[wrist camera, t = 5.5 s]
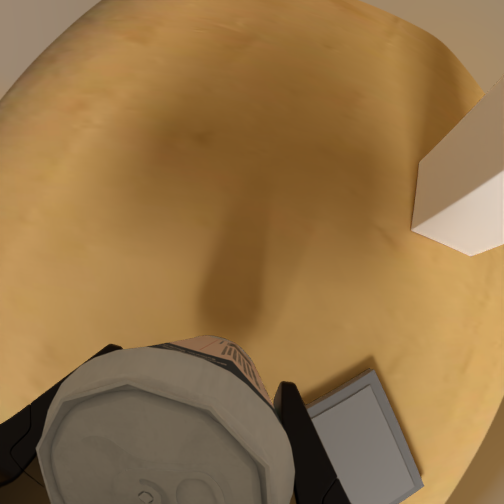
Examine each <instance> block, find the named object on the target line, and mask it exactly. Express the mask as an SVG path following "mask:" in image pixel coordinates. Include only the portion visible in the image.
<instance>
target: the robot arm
mask: <svg viewBox="0 0 504 504" xmlns="http://www.w3.org/2000/svg"><path fill="white" fill-rule="evenodd" d="M116 350H123V348H122V347H121V346H118V345H114V344H109V345H107V346H106V347H104V348H103V349H102V350H100V351H99V352H98V353H96V354H95V355H94V356H92V357H91V358H90V359H88V360H87V361H86V362H88V361H90V360H91V359H93V358H95V357H98V356H101V355H104V354H107V353H110V352H113V351H116ZM86 362H84V363H86ZM84 363H83V364H84ZM83 364H82V365H83ZM80 366H81V365H80ZM80 366H79V367H80ZM79 367H78V368H79ZM78 368H76V369H75V370H77V369H78ZM75 370H74V371H75ZM74 371H72V372H71V373H70V374H68V375H67V376H66V377H64V378H63V379H62V380H61V381H59V382H58V383H57V384H55V385H54V386H53V387H51V388H50V389H49V390H47V391H46V392H45V393H43V394H42V395H41V396H39V397H38V398H37V399H35V400H34V401H33V402H32V403H31V405H30V404H29V405H27V406H26V407H25V408H24V409H22V410H21V411H20V412H18V413H17V414H15V415H14V416H13V417H11V418H10V419H8V420H6V421H5V422H3V423H2V424H0V504H51V502H50V499H49V496H48V493H47V490H46V486H45V483H44V479H43V475H42V472H41V468H40V464H39V460H38V456H37V451H36V447H37V445H38V443H39V441H40V439H41V437H42V433H43V429H44V425H45V421H46V417H47V413H48V410H49V407H50V405H51V403H52V401H53V399H54V397H55V395H56V393H57V391H58V389H59V387H60V386H61V384H62V383H63V382H64V381H65V380H66V379H67V378H68V377H69V376H70V375H71V374H72V373H73V372H74ZM273 406H274V409H275V411H276V413H277V415H278V417H279V419H280V421H281V423H282V425H283V428H284V430H285V432H286V434H287V437H288V440H289V442H290V445H291V449H292V455H293V461H294V468H295V476H294V487H293V494H292V497H291V500H290V503H289V504H352V503H351V502H350V500H349V498H348V496H347V494H346V492H345V490H344V488H343V486H342V484H341V482H340V480H339V478H337V477H338V476H337V474H336V471H335V469H334V467H333V465H332V463H331V461H330V459H329V456H328V454H327V452H326V450H325V448H324V446H323V443H322V441H321V439H320V437H319V435H318V433H317V430H316V428H315V426H314V424H313V422H312V420H311V417H310V415H309V413H308V411H307V409H306V406H305V404H304V402H303V400H302V398H301V395H300V393H299V391H298V389H297V387H296V385H295V384H294V383H293V382H286V381H282V382H281V383H280V385H279V387H278V390H277V392H276V395H275V398H274V404H273Z"/></svg>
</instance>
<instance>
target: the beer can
mask: <svg viewBox="0 0 504 504" xmlns="http://www.w3.org/2000/svg"><path fill="white" fill-rule="evenodd" d="M36 451H37V456H38V460H39V464H40V468H41V472H42V475H43V479H44V483H45V486H46V490H47V493H48V496H49V499H50V502H51V504H289V503H290V500H291V497H292V494H293V487H294V476H295V468H294V461H293V455H292V449H291V445H290V442H289V440H288V437H287V434H286V432H285V430H284V428H283V425H282V423H281V421H280V419H279V417H278V415H277V413H276V411H275V409H274V406H273V404H272V402H271V400H270V398H269V396H268V393H267V391H266V389H265V387H264V385H263V383H262V380H261V378H260V376H259V374H258V372H257V369H256V367H255V365H254V363H253V362H252V360H251V358H250V357H249V356H248V355H247V354H246V352H245V351H244V350H243V349H242V348H241V347H239V346H238V345H237V344H235V343H234V342H231V341H229V340H227V339H225V338H221V337H217V336H207V335H205V336H198V337H194V338H190V339H185V340H180V341H175V342H169V343H164V344H159V345H153V346H147V347H140V348H131V349H123V350H116V351H113V352H110V353H107V354H104V355H101V356H98V357H95V358H93V359H91V360H90V361H88V362H86V363H84V364H83V365H81V366H80V367H79V368H78V369H77V370H75V371H74V372H73V373H72V374H71V375H70V376H69V377H68V378H67V379H66V380H65V381H64V382H63V383H62V384H61V386H60V387H59V389H58V391H57V393H56V395H55V397H54V399H53V401H52V403H51V405H50V407H49V410H48V413H47V417H46V421H45V425H44V429H43V433H42V437H41V439H40V441H39V443H38V445H37V447H36Z"/></svg>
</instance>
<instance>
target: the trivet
mask: <svg viewBox="0 0 504 504" xmlns="http://www.w3.org/2000/svg"><path fill="white" fill-rule="evenodd" d="M305 406H306V409H307V411H308V413H309V415H310V417H311V420H312V422H313V424H314V426H315V428H316V430H317V433H318V435H319V437H320V439H321V441H322V443H323V446H324V448H325V450H326V452H327V454H328V456H329V459H330V461H331V463H332V465H333V467H334V469H335V471H336V474H337V476H338V477H337V478H339V480H340V482H341V484H342V486H343V488H344V490H345V492H346V494H347V496H348V498H349V500H350V502H351V503H352V504H399V503H400V502H402V501H403V500H405V499H406V498H408V497H409V496H411V495H412V494H414V493H415V492H417V491H418V490H419V489H421V488H422V487H424V485H423V482H422V479H421V477H420V474H419V472H418V469H417V467H416V464H415V462H414V459H413V457H412V455H411V452H410V450H409V447H408V445H407V442H406V440H405V438H404V435H403V433H402V431H401V428H400V426H399V424H398V421H397V419H396V417H395V414H394V412H393V410H392V408H391V405H390V403H389V401H388V399H387V396H386V394H385V392H384V390H383V388H382V385H381V383H380V381H379V379H378V377H377V375H376V372H375V370H374V369H370V368H369V369H367V370H366V371H364V372H363V373H361V374H359V375H358V376H356V377H354V378H353V379H351V380H350V381H348V382H346V383H344V384H343V385H341V386H339V387H338V388H336V389H334V390H332V391H331V392H329V393H327V394H325V395H324V396H322V397H320V398H318V399H316V400H315V401H313V402H311V403H309V404H307V405H305Z"/></svg>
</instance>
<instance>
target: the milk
mask: <svg viewBox="0 0 504 504" xmlns="http://www.w3.org/2000/svg"><path fill="white" fill-rule="evenodd" d="M411 231H413V232H416V233H418V234H420V235H423V236H425V237H428V238H430V239H432V240H435V241H437V242H439V243H442V244H444V245H446V246H448V247H451V248H453V249H455V250H457V251H460V252H462V253H464V254H466V255H468V256H473V255H476V254H479V253H481V252H484V251H487V250H489V249H492V248H495V247H497V246H500V245H503V244H504V75H503V76H502V77H501V78H500V79H499V80H498V81H497V83H496V84H495V85H494V86H493V87H492V88H491V89H490V90H489V91H488V92H487V93H486V94H485V95H484V97H483V98H482V99H481V100H480V101H479V102H478V103H477V104H476V105H475V106H474V107H473V108H472V109H471V110H470V111H469V112H468V113H467V114H466V115H465V117H464V118H463V119H462V120H461V121H460V122H459V123H458V124H457V125H456V126H455V127H454V128H453V129H452V130H451V131H450V132H449V133H448V134H447V135H446V136H445V137H444V138H443V139H442V140H441V141H440V142H439V143H438V144H437V145H436V146H435V147H434V148H433V149H432V150H431V151H430V152H429V153H428V154H427V155H426V156H425V157H424V158H423V159H422V160H421V161H420V162H419V168H418V178H417V188H416V196H415V205H414V212H413V219H412V226H411Z"/></svg>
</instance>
